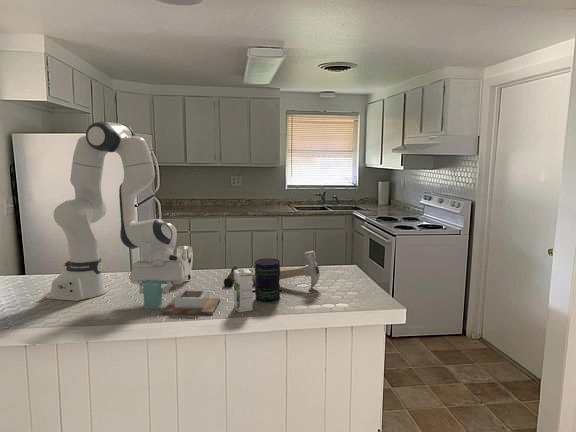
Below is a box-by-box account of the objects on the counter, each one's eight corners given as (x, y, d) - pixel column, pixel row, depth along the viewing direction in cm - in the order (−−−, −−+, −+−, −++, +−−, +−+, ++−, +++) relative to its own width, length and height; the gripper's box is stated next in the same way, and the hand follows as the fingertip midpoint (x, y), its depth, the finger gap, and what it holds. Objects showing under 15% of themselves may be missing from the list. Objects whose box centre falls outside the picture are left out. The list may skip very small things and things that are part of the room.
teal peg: (144, 308, 162) (143, 285, 161) (149, 304, 167) (147, 281, 165) (157, 308, 162) (156, 285, 160) (162, 304, 167) (161, 281, 165)
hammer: (247, 262, 190) (312, 252, 179) (252, 259, 194) (315, 250, 183) (255, 297, 191) (320, 289, 180) (260, 294, 195) (323, 286, 184)
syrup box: (233, 307, 163) (232, 269, 160) (248, 305, 165) (248, 268, 163) (237, 312, 157) (236, 273, 155) (253, 310, 159) (252, 272, 157)
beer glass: (191, 282, 194) (190, 249, 192) (175, 282, 194) (174, 249, 192) (195, 277, 201) (193, 245, 199) (179, 277, 201) (178, 245, 199)
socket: (175, 309, 158) (174, 298, 157) (182, 299, 168) (182, 289, 167) (202, 309, 157) (202, 298, 157) (208, 300, 167) (208, 289, 167)
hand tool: (232, 287, 187) (232, 277, 187) (223, 287, 188) (223, 276, 187) (242, 275, 206) (242, 265, 205) (233, 274, 206) (233, 265, 206)
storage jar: (268, 292, 180) (268, 257, 177) (285, 298, 173) (285, 261, 170) (249, 298, 173) (249, 261, 170) (266, 304, 166) (266, 266, 163)
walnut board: (162, 314, 156) (162, 311, 156) (174, 301, 170) (173, 298, 170) (212, 314, 155) (212, 311, 155) (220, 301, 169) (220, 298, 169)
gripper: (131, 256, 170) (122, 289, 162) (184, 257, 169) (177, 289, 161) (136, 265, 175) (128, 296, 167) (187, 265, 174) (181, 297, 166)
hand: (153, 293), depth 164 cm, fingers open, 7 cm apart
